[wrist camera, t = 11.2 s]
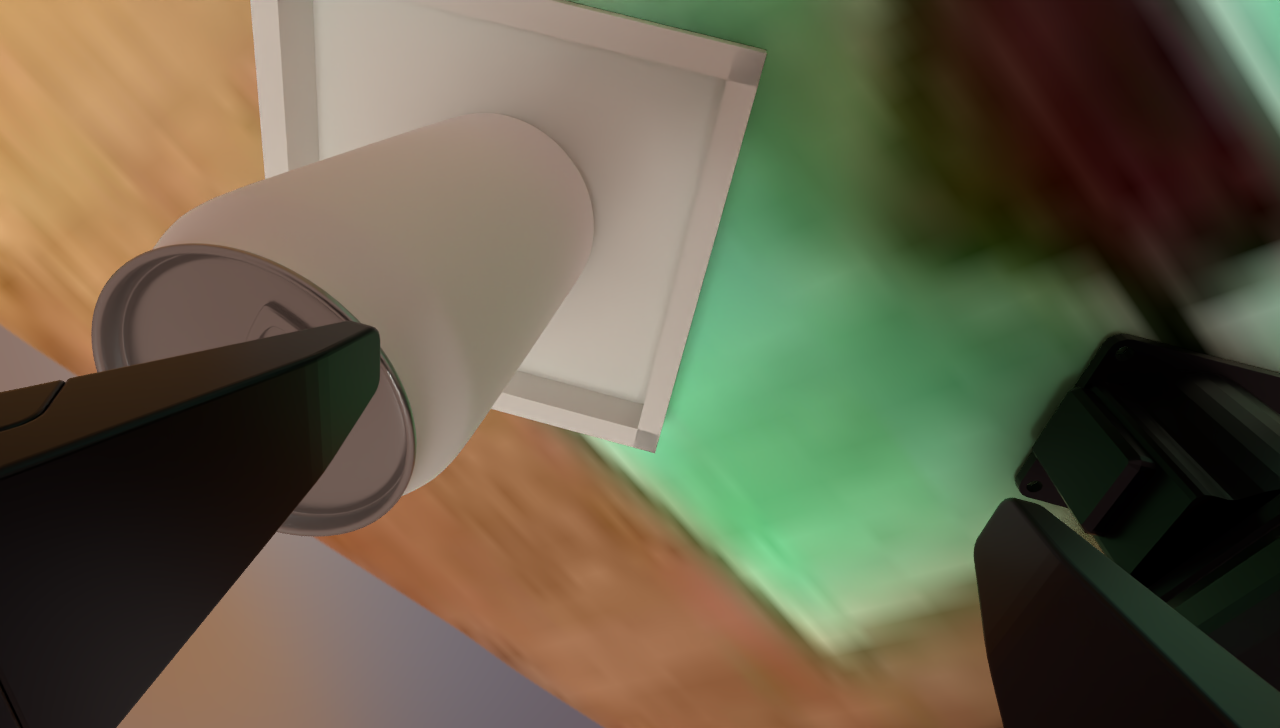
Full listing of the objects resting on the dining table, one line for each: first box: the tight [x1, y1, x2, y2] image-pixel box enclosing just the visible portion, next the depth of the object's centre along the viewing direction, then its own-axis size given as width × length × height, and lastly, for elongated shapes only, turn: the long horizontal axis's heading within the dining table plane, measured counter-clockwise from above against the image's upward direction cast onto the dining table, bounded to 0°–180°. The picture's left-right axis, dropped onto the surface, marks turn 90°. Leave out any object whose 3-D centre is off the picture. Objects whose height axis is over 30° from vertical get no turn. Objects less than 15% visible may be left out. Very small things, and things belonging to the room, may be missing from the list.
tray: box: [250, 0, 767, 453], centre depth 21 cm, size 14×13×2 cm
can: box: [92, 113, 594, 536], centre depth 16 cm, size 6×6×12 cm
